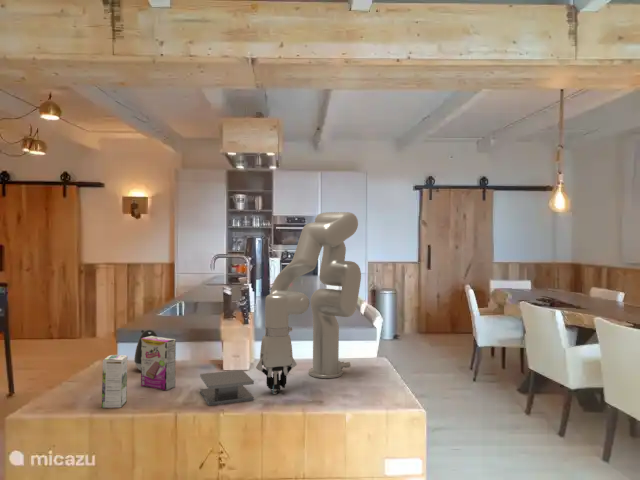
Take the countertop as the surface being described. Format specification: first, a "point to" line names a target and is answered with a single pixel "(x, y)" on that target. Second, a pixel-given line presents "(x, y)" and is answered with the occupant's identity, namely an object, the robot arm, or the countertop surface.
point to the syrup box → (114, 381)
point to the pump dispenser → (138, 348)
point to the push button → (276, 379)
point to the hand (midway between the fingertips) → (276, 387)
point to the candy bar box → (158, 362)
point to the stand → (226, 387)
